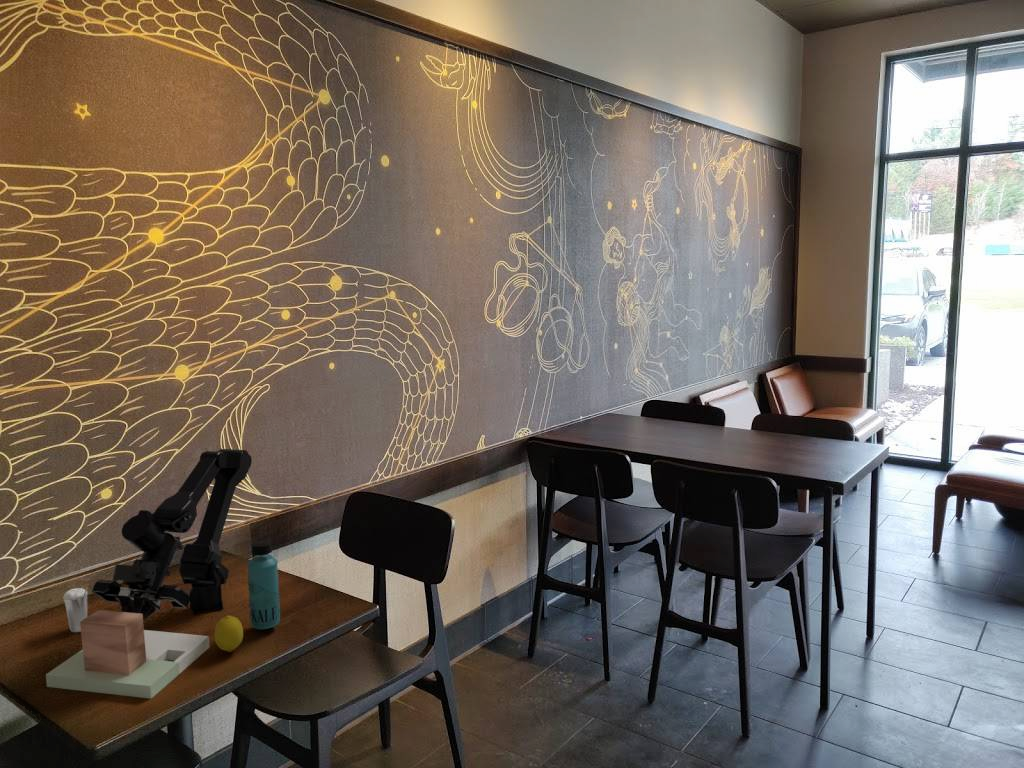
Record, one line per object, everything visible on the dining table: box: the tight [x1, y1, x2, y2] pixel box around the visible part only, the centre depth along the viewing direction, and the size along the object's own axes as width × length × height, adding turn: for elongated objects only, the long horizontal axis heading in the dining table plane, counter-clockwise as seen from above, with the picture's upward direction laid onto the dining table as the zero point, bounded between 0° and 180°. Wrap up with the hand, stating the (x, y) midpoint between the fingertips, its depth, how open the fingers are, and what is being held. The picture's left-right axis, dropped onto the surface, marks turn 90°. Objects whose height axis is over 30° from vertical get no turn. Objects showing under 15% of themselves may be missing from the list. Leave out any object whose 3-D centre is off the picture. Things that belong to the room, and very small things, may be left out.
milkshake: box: [63, 586, 89, 633], centre depth 164 cm, size 4×5×10 cm
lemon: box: [213, 615, 244, 653], centre depth 155 cm, size 6×6×8 cm
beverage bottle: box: [246, 540, 282, 630], centre depth 163 cm, size 6×7×20 cm
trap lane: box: [45, 629, 211, 700], centre depth 150 cm, size 19×22×2 cm
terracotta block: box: [80, 609, 147, 675], centre depth 144 cm, size 5×10×10 cm, turn 80°
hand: (123, 636), depth 147 cm, fingers closed, pressing on terracotta block
